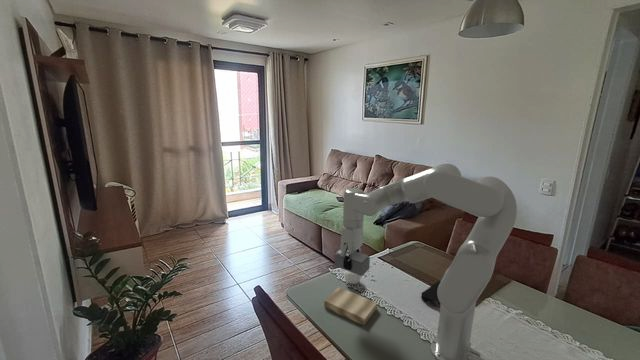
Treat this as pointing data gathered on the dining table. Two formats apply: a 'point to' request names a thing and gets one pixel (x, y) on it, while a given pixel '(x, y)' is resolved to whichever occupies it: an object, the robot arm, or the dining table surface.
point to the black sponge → (431, 295)
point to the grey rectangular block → (354, 262)
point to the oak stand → (351, 305)
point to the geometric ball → (351, 277)
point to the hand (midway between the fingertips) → (351, 264)
